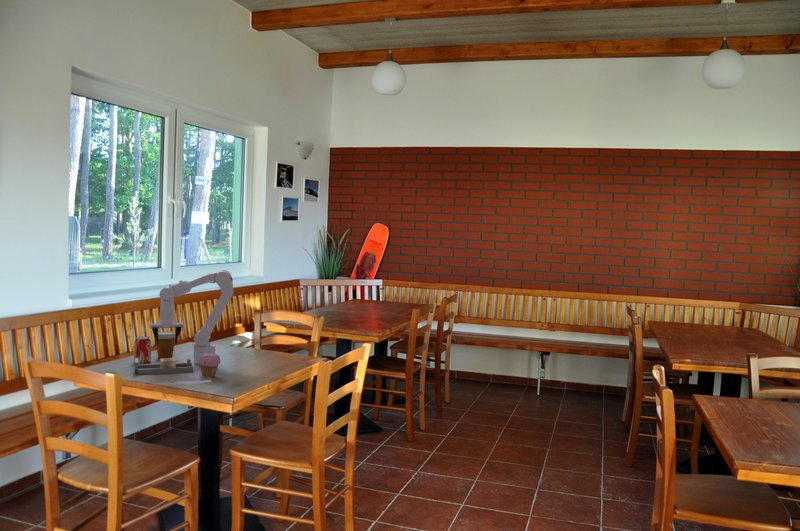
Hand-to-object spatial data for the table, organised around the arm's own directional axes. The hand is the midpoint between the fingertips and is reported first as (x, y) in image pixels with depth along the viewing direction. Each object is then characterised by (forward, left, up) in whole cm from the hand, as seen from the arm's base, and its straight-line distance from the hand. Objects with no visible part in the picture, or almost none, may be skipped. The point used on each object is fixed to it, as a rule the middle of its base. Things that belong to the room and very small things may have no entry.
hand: (166, 344), depth 295 cm
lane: (+2, +16, -9) cm, 19 cm away
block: (-3, +16, -8) cm, 18 cm away
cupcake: (-16, +27, -10) cm, 33 cm away
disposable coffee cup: (0, -15, -10) cm, 18 cm away
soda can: (+10, -4, -10) cm, 14 cm away
